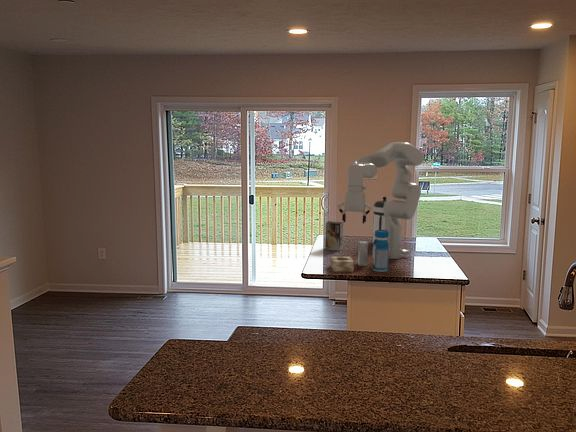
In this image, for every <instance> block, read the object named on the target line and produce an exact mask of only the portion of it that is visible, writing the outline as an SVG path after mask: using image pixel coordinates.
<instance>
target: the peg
mask: <svg viewBox="0 0 576 432" xmlns="http://www.w3.org/2000/svg"><path fill="white" fill-rule="evenodd" d="M357 247H358V248H357V249H358V251H357V254H358V255H357V265H358V266H364V267H365V266H368V251H369V250H368V249H369V248H368V247H369V242H368V241H360V240H359V241H358V246H357Z"/></svg>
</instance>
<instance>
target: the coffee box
mask: <svg viewBox="0 0 576 432" xmlns="http://www.w3.org/2000/svg"><path fill="white" fill-rule="evenodd" d="M343 231H344V222H342V221H331V220H329V221H326V222H325V246H324V249H325V251H336V252H337V251H339V252H340V251H342V250H343V239H344V238H343V234H344V233H343Z"/></svg>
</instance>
